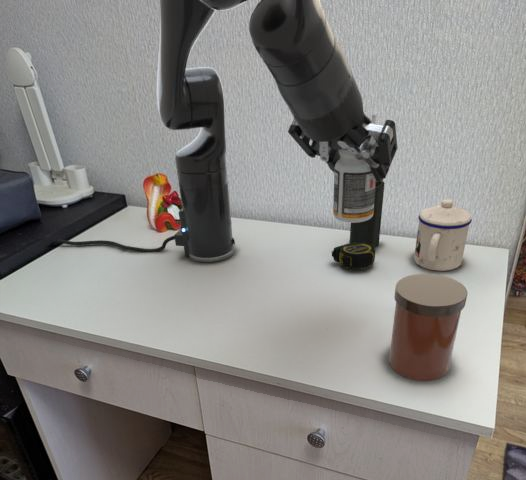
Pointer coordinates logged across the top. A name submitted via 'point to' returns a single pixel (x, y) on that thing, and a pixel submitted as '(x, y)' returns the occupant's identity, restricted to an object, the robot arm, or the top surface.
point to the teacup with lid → (441, 236)
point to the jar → (425, 325)
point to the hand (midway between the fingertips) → (361, 172)
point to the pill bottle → (353, 189)
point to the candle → (371, 227)
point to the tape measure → (354, 255)
